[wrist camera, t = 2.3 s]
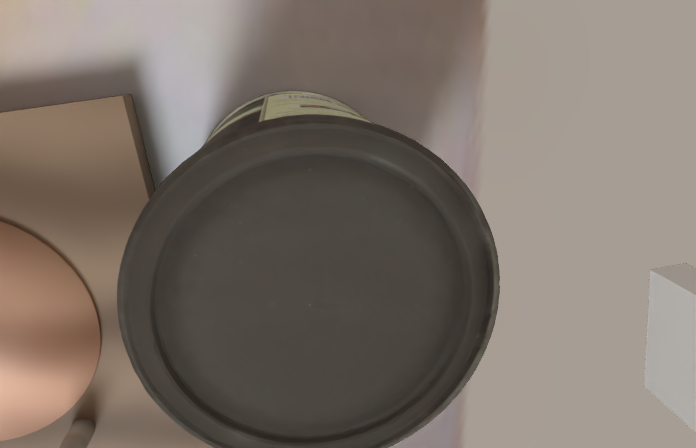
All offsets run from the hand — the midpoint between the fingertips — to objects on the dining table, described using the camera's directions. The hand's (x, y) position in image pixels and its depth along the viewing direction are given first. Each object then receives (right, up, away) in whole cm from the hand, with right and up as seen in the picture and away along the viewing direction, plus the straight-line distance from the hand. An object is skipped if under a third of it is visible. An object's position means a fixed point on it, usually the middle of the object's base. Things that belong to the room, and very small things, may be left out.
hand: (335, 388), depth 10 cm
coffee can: (-2, +5, +17) cm, 18 cm away
